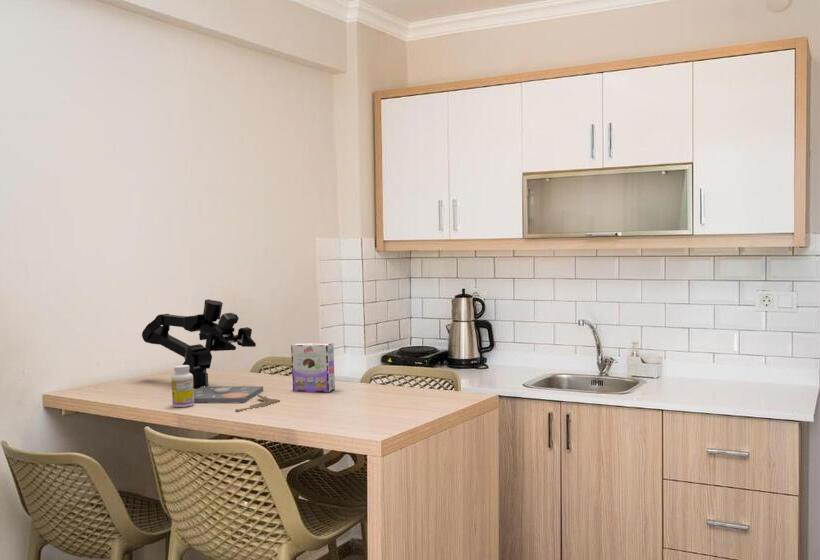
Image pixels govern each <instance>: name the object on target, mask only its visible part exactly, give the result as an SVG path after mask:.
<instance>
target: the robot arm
mask: <svg viewBox="0 0 820 560" xmlns="http://www.w3.org/2000/svg"><path fill="white" fill-rule="evenodd" d="M223 304H224V303H223V302H222V301H220V300H214V299H205V300H204V306H203V313H200V314H196V315H188V316H186V315H178V314H169V313H164V314H163V313H162V314H158V315H157V316H155V318H154V319H153V320H152V321H150V322H149V323H148V324H147V325H146V326H145V327H144V328H143V331H142V333H141V337H142V339H143V341H144V342H145V343H147V344H151V345H159V346H160V345H161V346H162V347H164V348H166V349H168V350H169V351H172V352H173V353H175V354H177V355H179V356H180V357H183V358H184V362H183V363H182V364H181V365H189V367H190V369H189V373H191V374H192V375H193V387H204V386H205V387H207V386H209V385H208V384H209V373H208V372H207V369H210V368H211V364H212V360H213V355H212V352H221V351H237V350H236V349H237V347H236V346H235V345H234V344H233V343H236V344H237V345H238V346H240V347H244V348H245V347H246V348H253V347H254V348H255V347H256V346H257V344H256V342H255V341H254V340H253V339H252V330H253V329H252V328H251V327H248V326H246V327H240V328H239V329H238V330H237V331H238V332H237V334H235V333H234V332H235V330H236V329H235V327H234V326H235V324H237V323H238V321H239V316H238V313H237V314H235V313H234V312H227V313H225V312H224V313H223V314H222V309H223ZM217 321H218V322H217ZM170 327H175V328H176V327H177V328H183V329H184V330H185V331H187V332H190V333H195V332H199V333H198V335H199V341H204V340H205V345H203V344H200V343H198V344H191V345H190V344H188V343H186V342H184V341H182V340H180V339H178V338H176V337H174V336H172V335H171V334H169V331H170V330H171V329H170ZM234 334H235V335H234ZM206 385H207V386H206Z"/></svg>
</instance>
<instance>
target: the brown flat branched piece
mask: <svg viewBox="0 0 820 560" xmlns="http://www.w3.org/2000/svg"><path fill="white" fill-rule="evenodd" d="M256 396H257V397H258V398H260V399H261V400H262V401H261V402H259V403H255V404H252V405H251V404H250V405H249V407H244V408H236V409H235V411H234V412H235V413H240V411H241V412H243V410H245V411H248V410H247V409H249V410H254V409H253V408H255V409H260V408H259V407H261V408H266V407H269V406H268V405H270V406H272V405H271V404H273V405H275V404H278V403H277V402H279V403H280V402H281V400H280V399H278V398H276V399H275V398H268V397H267V396H266V395H264V396H263V395H261V394H257V395H256ZM274 403H275V404H274ZM265 406H266V407H265Z"/></svg>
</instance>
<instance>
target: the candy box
mask: <svg viewBox="0 0 820 560" xmlns="http://www.w3.org/2000/svg"><path fill="white" fill-rule="evenodd" d="M290 350H291V352H290V353H291V371H292V392H294V391H295V392H297V393H298V392H299V393H300V392H301V393H305V392H306V393H330V392H333V391H335V390H336V384H335V383H336V381H335V380H336V379H335V355H334V343H331V342H323V343H322V342H297V343H293V344H291V345H290Z"/></svg>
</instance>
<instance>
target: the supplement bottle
mask: <svg viewBox="0 0 820 560" xmlns="http://www.w3.org/2000/svg"><path fill="white" fill-rule="evenodd" d="M173 369H174V373H173V375H172V376H171V394H172V395H171V398H172V400H171V401H172V406H173V407H174V408H177V407H183V408H189V407H188V406H190V407H192V406H193V405H195V403H194V389H195V388H193V375H192V374H191V373H189V369H190V367H189V365H182V364H179V365H175V366H174V368H173Z"/></svg>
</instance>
